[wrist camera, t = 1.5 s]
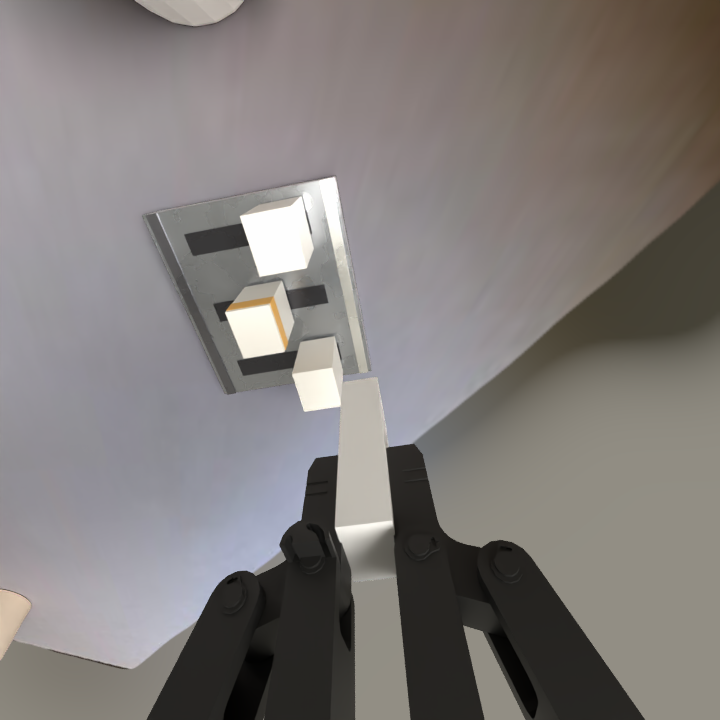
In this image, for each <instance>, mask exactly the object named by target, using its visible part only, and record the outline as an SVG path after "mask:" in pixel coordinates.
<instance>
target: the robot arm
mask: <svg viewBox="0 0 720 720" xmlns="http://www.w3.org/2000/svg"><path fill="white" fill-rule="evenodd" d="M280 547H281V549H282V551H283V553H284V555H285V557H286V560H285V561H284V562H283V563H281V564H280V565H278V566H276V567H274V568H272V569H270V570H268V571H266V572H264V573H261V574H259V575H257V576H255V575H254V574H253V573H251V572H248V571H237V572H235V573H233V574H231V575H228V576H227V577H226V578H225V579H223V580H222V581H221V582H220V583H219V584H218V585H217V587H216V588H215V590H214V591H213V593H212V594H211V596H210V598H209V600H208V602H207V604H206V606H205V608H204V610H203V612H202V614H201V616H200V618H199V619H198V621H197V623H196V626H195V627H194V629H193V631H192V633H191V635H190V637H189V639H188V641H187V643H186V645H185V646H184V648H183V650H182V652H181V654H180V656H179V658H178V660H177V662H176V664H175V666H174V668H173V670H172V672H171V674H170V676H169V677H168V680H167V681H166V683H165V685H164V687H163V689H162V691H161V693H160V695H159V697H158V699H157V701H156V703H155V704H154V706H153V708H152V710H151V712H150V714H149V716H148V718H147V720H263V718H264V720H355V623H354V622H355V619H354V618H355V616H354V615H355V612H354V611H355V610H354V600H353V595H352V593H351V576H352V578H353V581H354V582H361V581H370V580H379V579H388V578H397V585H398V596H399V606H400V616H401V626H402V636H403V647H404V657H405V667H406V677H407V687H408V698H409V707H410V718H411V720H484V715H483V711H482V707H481V702H480V698H479V693H478V689H477V685H476V680H475V676H474V672H473V667H472V663H471V658H470V655H469V650H468V645H467V641H466V637H465V632H464V628H463V625H464V626H467V627H471V628H474V629H477V630H481V631H483V633H484V635H485V637H486V639H487V641H488V643H489V645H490V647H491V649H492V651H493V653H494V656H495V658H496V660H497V662H498V664H499V666H500V668H501V670H502V672H503V674H504V676H505V678H506V680H507V682H508V684H509V686H510V689H511V691H512V692H513V695H514V697H515V699H516V701H517V703H518V705H519V707H520V709H521V711H522V713H523V715H524V717H525V719H526V720H645V719H644V718H643V716H642V715H641V713H640V712H639V710H638V709H637V708H636V706H635V705H634V703H633V702H632V700H631V699H630V698H629V696H628V695H627V693H626V692H625V690H624V689H623V688H622V686H621V685H620V683H619V682H618V680H617V679H616V678H615V676H614V675H613V673H612V672H611V670H610V669H609V668H608V666H607V665H606V663H605V662H604V660H603V659H602V658H601V656H600V655H599V653H598V652H597V651H596V649H595V648H594V646H593V645H592V643H591V642H590V641H589V639H588V638H587V636H586V635H585V633H584V632H583V631H582V629H581V628H580V626H579V625H578V624H577V622H576V621H575V619H574V618H573V616H572V615H571V613H570V612H569V611H568V609H567V608H566V607H565V605H564V603H563V602H562V601H561V599H560V598H559V596H558V595H557V594H556V592H555V591H554V589H553V588H552V586H551V585H550V584H549V582H548V581H547V579H546V578H545V576H544V575H543V574H542V572H541V571H540V569H539V568H538V567H537V566H536V564H535V562H534V561H533V559H532V558H531V557H530V556H529V555H528V554H527V553H526V552H525V550H524V549H523V548H521V547H519V546H518V545H516V544H514V543H512V542H508V541H503V540H498V541H491V542H489V543H488V544H486V545H485V546H483V547H482V548H480V547H476V546H471V545H466V544H463V543H460V542H457V541H455V540H453V539H452V538H450V537H449V536H448V535H447V534H445V533H444V531H443V530H442V529H441V527H440V525H439V523H438V520H437V516H436V512H435V507H434V503H433V499H432V494H431V490H430V485H429V481H428V477H427V472H426V468H425V463H424V459H423V454H422V453H421V452H420V451H419V450H418V448H417V447H416V446H415V445H414V444H409V445H402V446H395V447H388V438H387V430H386V423H385V417H384V412H383V406H382V401H381V395H380V390H379V384H378V378H377V377H373V378H367V379H360V380H354V381H347V382H342V390H341V410H340V431H339V451H338V455H336V456H329V457H321V458H316V459H315V460H314V462H313V464H312V465H311V467H310V469H309V470H308V477H307V486H306V491H305V499H304V506H303V513H302V520H301V521H298V522H297V523H295V524H294V525H292V526H291V527H289V529H288V530H287V531H286V532H285V534H284V535H283V537H282V540H281V542H280ZM264 715H265V717H264Z"/></svg>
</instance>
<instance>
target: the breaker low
mask: <svg viewBox="0 0 720 720" xmlns="http://www.w3.org/2000/svg"><path fill="white" fill-rule="evenodd" d="M292 376H293V379H294V382H295V385H296V388H297V391H298V394H299V397H300V400H301V403H302V406H303V409H304V412H306V411H313V410H319V409H326V408H332V407H339V406H341V390H342V382H343V369H342V365H341V360H340V356H339V352H338V348H337V344H336V339H335V336H333V337H327V338H321V339H315V340H309V341H303V342H300V345H299V349H298V353H297V357H296V361H295V365H294V368H293V372H292Z"/></svg>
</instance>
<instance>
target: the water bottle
mask: <svg viewBox="0 0 720 720" xmlns="http://www.w3.org/2000/svg"><path fill="white" fill-rule="evenodd" d="M30 609H31V603H30V602H29V600H27V599H26V598H25V597H23V596H21V595H19V594H17V593H14V592H11V591H7V590H1V589H0V661H1V659H2V658H3V656H4V654H5V653H6V651H7V649H8V647H9V646H10V644H11V642H12V640H13V638H14V637H15V635H16V633H17V631H18V629H19V627H20V626H21V624H22V622H23V620H24V619H25V617H26V615H27V614H28V612H29V610H30Z"/></svg>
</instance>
